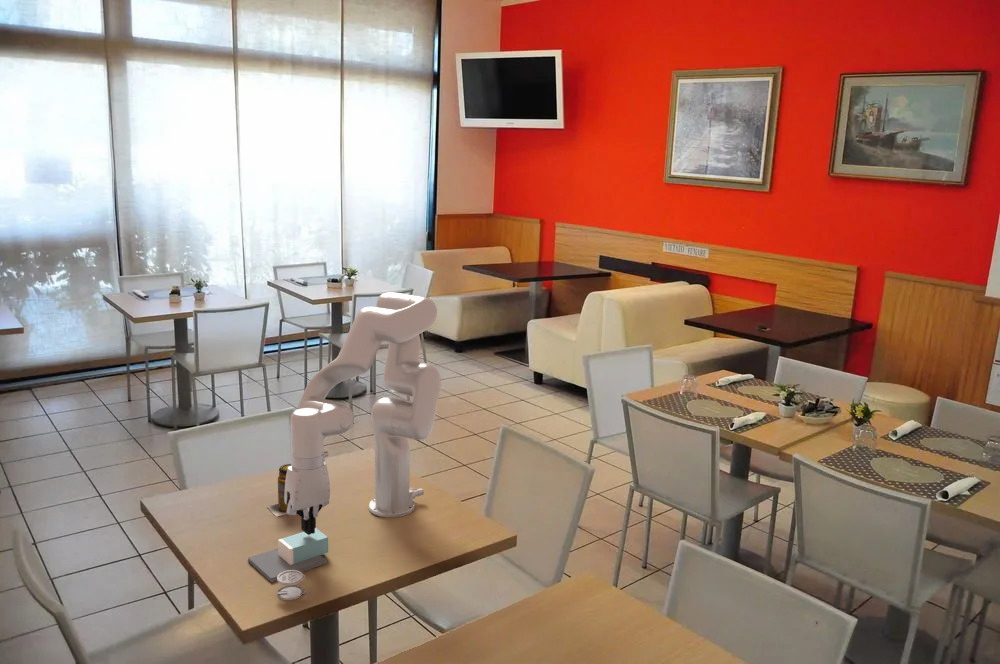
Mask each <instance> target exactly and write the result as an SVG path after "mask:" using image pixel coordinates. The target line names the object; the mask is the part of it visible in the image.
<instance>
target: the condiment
mask: <svg viewBox="0 0 1000 664" xmlns="http://www.w3.org/2000/svg"><path fill="white" fill-rule="evenodd" d="M289 466H291V463H287V464H283V465H281V466H280V467H279V469H278V477H277V497H278V498H277V501H278V503H275V504H271V505H267V506H266V507H267V509H268V510H269V511H270V512H271V514H273V515H274V516H275V517H276V518H277V517H278V518H279V517H280V516H284V515H285V516H286V515H289V514H288V513H287V507H288V505H286V504H285V501H284V494H285V481H286V474H287V470H288V467H289Z"/></svg>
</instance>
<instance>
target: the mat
mask: <svg viewBox="0 0 1000 664" xmlns="http://www.w3.org/2000/svg"><path fill="white" fill-rule="evenodd" d="M247 562H248V563H249V564H250V565H251V566H253V567H254V568H255V569H256V570H257V571H258V572H259V573H260V574H261V575H262V576H264V577H265V578H266V579H267V580H268V581H269V582H270V583H273V582H276V581H277V576H278V575H279V574H280V573H281V572H284V571H287V570H297V571H300V572H302V573H303V572H305V571H309V570H311V569H314V568H317V567H318V568H319V567H321V566H323V565H326V564H327V559H326V558H324V557H323V556H322V555H319V556H316V557H313V558H310V559H307V560H304V561H301V562H298V563H295V564H292V565H290V564H289V563H288V562H286V561H285V560H284V559H283V558H282V557H280V556H279V551H278V547H277V548H274V549H272V550H268V551H265V552H261V553H259V554H255V555H252V556H250V557H248V558H247ZM277 582H278V581H277Z"/></svg>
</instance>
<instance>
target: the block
mask: <svg viewBox="0 0 1000 664" xmlns="http://www.w3.org/2000/svg"><path fill="white" fill-rule="evenodd" d="M277 541H278V542H277V543H278V545H277V548H278V551H279V556H280V557H282V558H283V559H284V560H285V561H286V562H288V563H289V564H290V565H292V564H295V563H298V562H301V561H304V560H307V559H310V558H313V557H316V556H319V555H321V556H322V555H324V554H327V553H329V537H328V536H327V535H326V534H324V533H323V532H322V531H320V530H319V529H318V528H317V527H316V528H315V533H313V534H312V533H311V534H310V535H308V534H306V533H305V532H304V531H302V532H298V533H295V534H293V535H289V536H285V537H282V538H279V539H277Z"/></svg>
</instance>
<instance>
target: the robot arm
mask: <svg viewBox="0 0 1000 664" xmlns="http://www.w3.org/2000/svg"><path fill="white" fill-rule="evenodd" d="M436 305H437V304H436V303H435V302H434V301H433V300H432V299H430V298H428V297H425V296H422V295H421V296H420V295H415V294H408V293H402V292H394V291H393V292H392V291H389V292H384V293H382V294H380V295H379V296H378V298H377V300H376V306H365V307H363V308H362V309H360V310H359V311H358V312H357V314H356V316H355V318H354V320H353V322H352V324H351V327H350V329H349V331H348V333H347V335H346V338H345V339H344V342H343V345H342V346H341V348H340V350H339V354H338V355H337V357H336V358H335V359H333V360H332V361H331V362H329V363H328V364H326V365H325V366H323V367H322V368H321V369H320V370H319V371H318V372H317V373H316V374H315V375H313V376H312V378H311V379H310V380H309V382H308V383H307V385H306V388H305V389H304V392H303V394H302V396H301V398H300V401H299V403H298V406H297V409H294V411H293V412H291V415H290V454H291V456H290V461H291V463H290V464H291V466H289V467H288V470H287V474H286V481H285V494H284V501H285V504H286V505H288V507H287V513H288V514H287V515H289V516H296V515H297V516H299V517H301V518H300V519H301V520H300V522H301V526H300V527H301V530H302V532H305V533H306V534H308V535H310V534H311V533H312V534H313V533H315V528H316V529H317V526H316V525H317V524H316V523H317V521H316V519H317V517H318V516H319V513H320V511H321V510H322V508H324V507H326V506H328V505H329V504H330V496H331V485H330V476H329V470H328V467H327V463H326V462H325V461H326V458H327V457H329V452H328V451H327V450H326V451H325V445H324V443H325V442H324V441H325V438H326V437H331V436H332V437H333V436H339V435H342V434H345V433H346V432H348V431H349V430H350V429H352V426H354V421H355V413H354V411H353V409H352V408H351V407H350V406H348V405H346V404H344V403H340V402H337V401H332V400H329V399H326V398H327V396H328V394H329V393H330V391H331V390H332V389H333V388H334V387H336V386H337V385H338V384H340V383H342V382H344V381H346V380H351V379H353V378H357V377H359V376H363V375H365V374H367V373H368V372H369V371H370V370H371V368H372V365H373V363H374V360H375V358H376V355H377V353H378V352H379V349H380V347H381V345H382V343H386V344H388V348H387V354H386V358H385V359H386V360H385V367H384V370H383V371H384V373H383V378H382V379H383V381H382V382H383V386H384V388H386V390H388V391H389V392H392V393H395V394H399V395H402V396H403V395H404V396H408V397H412V401H410V400H406V399H402V398H398V397H391V396H386V397H381V398H379V399H378V400H376V401H375V402H374V404H373V406H372V407H371V414H370V419H371V420H370V421H371V426H372V431H373V436H374V498H373V499H371V500H370V502H369V503H368V510H369V511H370V513H372V514H373V515H375V516H378V517H383V518H400V517H405V516H407V515H410V514H411V513H412V512H413V511H414V510H415V509H416V503H415V501H414V499H415V498H417V497H421V496H423V495H424V494H425V493H424V492H425V491H424V488H418V489H415V487H410V485H411V484H410V477H411V475H410V474H411V473H410V472H411V471H410V470H411V469H410V467H411V463H410V461H411V446H410V442H409V439H410V440H415V441H419V440H420V441H421V440H425V439H427V438H428V437H429V435H430V434H431V433H432V430H433V428H434V425H435V419H436V413H437V407H438V403H439V397H440V392H441V375H440V372H439V370H438V368H437V367H436V366H435V365H433V364H431V363H427V362H422V361H420V354H421V353H420V352H421V345H422V343H421V342H422V341H421V336H420V334H422V333H423V332H426V331H427V330H429V329H430V328H431V327H432V325H433V324H434V323H435V321H436V319H437V314H438V309H437V306H436Z"/></svg>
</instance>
